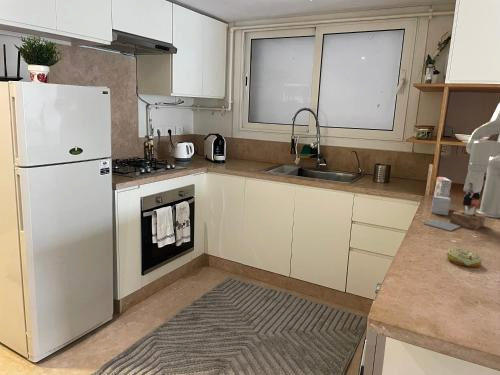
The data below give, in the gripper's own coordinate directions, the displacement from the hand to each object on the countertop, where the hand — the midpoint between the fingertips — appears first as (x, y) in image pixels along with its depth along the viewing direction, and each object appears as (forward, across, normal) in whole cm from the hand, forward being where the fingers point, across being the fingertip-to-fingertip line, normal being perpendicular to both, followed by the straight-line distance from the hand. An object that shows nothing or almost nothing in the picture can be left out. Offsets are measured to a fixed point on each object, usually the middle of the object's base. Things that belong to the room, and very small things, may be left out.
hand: (470, 204), depth 177 cm
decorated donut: (+10, +52, +17) cm, 56 cm away
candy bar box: (+10, -20, -21) cm, 31 cm away
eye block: (+10, 0, 0) cm, 10 cm away
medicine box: (+10, -8, -16) cm, 21 cm away
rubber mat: (+10, +13, -6) cm, 17 cm away
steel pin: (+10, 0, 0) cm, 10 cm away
